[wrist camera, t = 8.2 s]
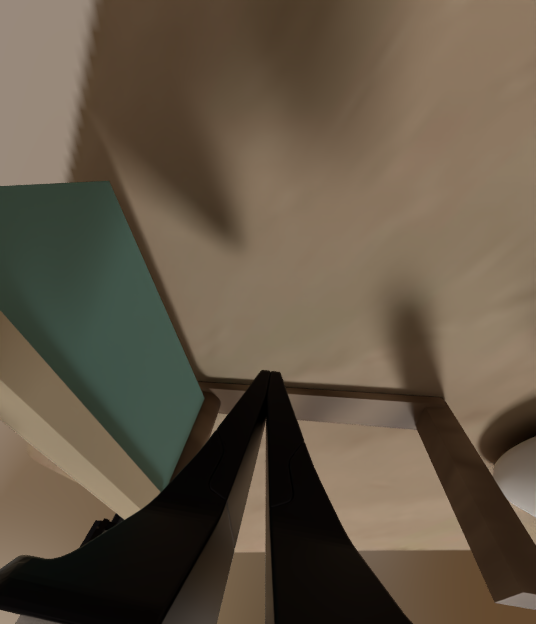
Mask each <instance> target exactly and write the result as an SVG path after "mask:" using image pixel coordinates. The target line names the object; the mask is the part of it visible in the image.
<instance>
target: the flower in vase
mask: <svg viewBox="0 0 536 624" xmlns="http://www.w3.org/2000/svg"><path fill="white" fill-rule="evenodd" d="M493 478H494V480H495V481H496V483H497V484H498V486H499V487H500V489H501V491H502V492H503V494H504V495H505V497H506V498H507V499H508V500H509V501H510V502H511V503H512V504H514V505H515V506H517V507H519V508H520V509H522V510H524V511H526V512H527V513H529V514H531V515H532V516H534V517H536V436H535V437H533V438H530V439H528V440H526V441H524V442H521V443H520V444H518V445H516V446H514V447H513V448H511V449H509V450H508V451H507V452H505V453H504V454H503V455H502V456H501V457H500V458H499V459H498V460H497V462H496V463H495V465H494V468H493Z"/></svg>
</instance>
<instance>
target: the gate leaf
mask: <svg viewBox="0 0 536 624" xmlns="http://www.w3.org/2000/svg"><path fill="white" fill-rule="evenodd" d="M204 399H205V398H204V396H203V393H202V391H201V389H200V387H199V384H198V382H197V380H196V378H195V375H194V373H193V371H192V368H191V366H190V364H189V362H188V359H187V357H186V355H185V353H184V350H183V348H182V346H181V343H180V341H179V339H178V337H177V334H176V332H175V330H174V328H173V325H172V323H171V321H170V318H169V316H168V314H167V312H166V309H165V307H164V305H163V303H162V300H161V298H160V296H159V293H158V291H157V289H156V287H155V284H154V282H153V280H152V278H151V275H150V273H149V271H148V269H147V266H146V264H145V262H144V259H143V257H142V255H141V253H140V250H139V248H138V246H137V244H136V241H135V239H134V237H133V234H132V232H131V230H130V228H129V225H128V223H127V221H126V219H125V216H124V214H123V212H122V209H121V207H120V205H119V203H118V200H117V198H116V196H115V194H114V191H113V189H112V187H111V184H110V182H109V181H96V182H75V183H55V184H35V185H16V186H0V420H1V421H2V422H4V423H5V424H6V425H7V426H8V427H9V428H11V429H12V430H13V431H14V432H16V433H17V434H18V435H20V436H21V437H22V438H23V439H24V440H26V441H27V442H28V443H29V444H31V445H32V446H33V447H34V448H36V449H37V450H38V451H39V452H41V453H42V454H43V455H44V456H46V457H47V458H48V459H49V460H51V461H52V462H53V463H54V464H56V465H57V466H58V467H59V468H61V469H62V470H63V471H64V472H66V473H67V474H68V475H69V476H71V477H72V478H73V479H74V480H76V481H77V482H78V483H79V484H81V485H82V486H83V487H84V488H86V489H87V490H88V491H89V492H91V493H92V494H93V495H94V496H96V497H97V498H98V499H99V500H101V501H102V502H103V503H104V504H106V505H107V506H108V507H109V508H111V509H112V510H113V511H114V512H116V513H117V514H118V515H119V516H121V517H122V518H123V519H124V520H125V519H126V518H128V517H130V516H131V515H133V514H134V513H136V512H138V511H139V510H141V509H142V508H143V507H145V506H146V505H147V504H149V503H150V502H151V501H152V500H153V499H154V498H155V497H157V496H158V495H159V494H160V492H161V491H162V490H163V489H164V488H165V487H166V486H167V485H168V484H169V481H170V479H171V477H172V474H173V472H174V469H175V467H176V465H177V462H178V460H179V458H180V455H181V453H182V451H183V448H184V446H185V444H186V441H187V439H188V437H189V434H190V432H191V429H192V427H193V425H194V422H195V420H196V418H197V415H198V413H199V411H200V408H201V406H202V404H203V401H204Z"/></svg>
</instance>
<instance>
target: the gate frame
mask: <svg viewBox="0 0 536 624" xmlns="http://www.w3.org/2000/svg"><path fill="white" fill-rule="evenodd" d="M198 384H199V387H200V389H201V391H202V393H203V396H204V398H205V399H204V401H203V404H202V406H201V408H200V411H199V413H198V415H197V418H196V420H195V422H194V425H193V427H192V429H191V432H190V434H189V437H188V439H187V441H186V444H185V446H184V448H183V451H182V453H181V455H180V458H179V460H178V462H177V465H176V467H175V469H174V472H173V474H172V477H171V479H170V481H169V483H170V482H171V481H172V480H173V479H174V478H175V477H176V476H177V475H178V473H179V472H180V471H181V470H182V469H183V468H184V467H185V466H186V465H187V464H188V463H189V462H190V461H191V460H192V458H193V457H194V456H195V455H196V454H197V453H198V452H199V451H200V450H201V448H202V447H203V446H204V445H205V443H206V442H207V441H208V440H209V438H210V435H211V432H212V429H213V426H214V423H215V420H216V417H217V414H218V413H222V414H229V412H230V411H231V410H232V408H233V407H234V406H235V404H236V403H237V402H238V400H239V399H240V398H241V396H242V395H243V394H244V393H245V391H246V390H247V389H248V387H249V386H250V385H242V384H226V383H211V382H198ZM286 390H287V393H288V396H289V399H290V401H291V404H292V407H293V410H294V413H295V416H296V419H297V420H306V421H318V422H330V423H342V424H354V425H366V426H378V427H389V428H401V429H413V430H418V433H419V435H420V437H421V439H422V442H423V444H424V446H425V448H426V451H427V453H428V455H429V457H430V459H431V462H432V464H433V466H434V468H435V471H436V473H437V475H438V477H439V480H440V482H441V484H442V486H443V488H444V491H445V493H446V495H447V497H448V500H449V502H450V504H451V506H452V509H453V511H454V513H455V515H456V517H457V520H458V522H459V524H460V526H461V529H462V531H463V533H464V535H465V538H466V540H467V542H468V544H469V546H470V549H471V551H472V553H473V555H474V558H475V560H476V562H477V564H478V566H479V569H480V571H481V573H482V575H483V578H484V580H485V582H486V584H487V587H488V589H489V591H490V593H491V595H492V598H493V600H494V602H495V603H499V604H505V605H511V606H517V607H523V608H529V609H535V610H536V545H535V543H534V542H533V540H532V539H531V537H530V535H529V534H528V532H527V531H526V529H525V527H524V526H523V524H522V523H521V521H520V519H519V518H518V516H517V515H516V513H515V511H514V510H513V508H512V507H511V505H510V503H509V502H508V500H507V499H506V497H505V495H504V494H503V492H502V491H501V489H500V487H499V486H498V484H497V483H496V481H495V480H494V478H493V476H492V475H491V473H490V472H489V470H488V468H487V467H486V465H485V464H484V462H483V460H482V459H481V457H480V456H479V454H478V452H477V451H476V449H475V448H474V446H473V444H472V443H471V441H470V440H469V438H468V436H467V435H466V433H465V432H464V430H463V428H462V427H461V425H460V424H459V422H458V420H457V419H456V417H455V416H454V414H453V413H452V411H451V409H450V408H449V406H448V405H447V403H446V401H443V399H442V398H441V397H427V396H411V395H396V394H380V393H365V392H349V391H334V390H319V389H303V388H288V387H286Z"/></svg>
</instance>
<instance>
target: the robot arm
mask: <svg viewBox="0 0 536 624" xmlns="http://www.w3.org/2000/svg"><path fill="white" fill-rule="evenodd" d="M265 422H266V563H265V566H266V567H265V583H266V584H265V592H266V593H265V624H413V623H412V622H411V621H410V620H409V619H408V618H407V617H406V615H405V614H404V613H403V611H402V610H401V609H400V607H399V606H398V605H397V603H396V602H395V601H394V599H393V598H392V597H391V595H390V594H389V593H388V591H387V590H386V589H385V587H384V586H383V585H382V583H381V582H380V581H379V579H378V578H377V577H376V575H375V574H374V573H373V571H372V570H371V568H370V567H369V566H368V564H367V563H366V562H365V560H364V559H363V558H362V556H361V555H360V554H359V552H358V551H357V550H356V548H355V547H354V545H353V544H352V542H351V541H350V539H349V537H348V536H347V534H346V532H345V530H344V528H343V526H342V524H341V522H340V520H339V518H338V516H337V514H336V512H335V510H334V508H333V506H332V504H331V502H330V500H329V498H328V496H327V494H326V492H325V489H324V487H323V485H322V483H321V481H320V479H319V477H318V474H317V472H316V470H315V468H314V465H313V463H312V460H311V458H310V455H309V452H308V450H307V447H306V444H305V442H304V438H303V436H302V433H301V430H300V427H299V424H298V421H297V419H296V416H295V413H294V410H293V407H292V404H291V401H290V399H289V396H288V393H287V390H286V387H285V384H284V381H283V379H282V376H281V373H280V372H276V371H271V372H270V371H267V370H262V371H260V373H259V374H258V375H257V377H256V378H255V379H254V381H253V382H252V383H251V385H250V386H249V387H248V389H247V390H246V391H245V393H244V394H243V395H242V396H241V398H240V399H239V400H238V402H237V403H236V404H235V406H234V407H233V408H232V410H231V411H230V412H229V414H228V415H227V416H226V418H225V419H224V420H223V421H222V423H221V424H220V425H219V427H218V428H217V430H216V431H215V432H214V433H213V434H212V436H211V437H210V438H209V440H208V441H207V442H206V443H205V445H204V446H203V447H202V448H201V450H200V451H199V452H198V453H197V454H196V455H195V456H194V457H193V458H192V460H191V461H190V462H189V463H188V464H187V465H186V466H185V467H184V468H183V469H182V470H181V471H180V472H179V473H178V475H177V476H176V477H175V478H174V479H173V480H172V481H171V482H170V483H169V484H168V485H167V486H166V487H165V488H164V489H163V490H162V491H161V492H160V494H159V495H158V496H157V497H155V498H154V499H153V500H152V501H151V502H150V503H149V504H147V505H146V506H145V507H143V508H142V509H141V510H139V511H138V512H136V513H134V514H133V515H131V516H130V517H128V518H126V519H125V520H124V519H123V518H122V517H121V516H119V515H118V514H117V513H116V514H115V516H114V518H113V520H112V521H111V522H110V521H109V520H108V519H104V520H103V521H97V520H96V521H95V522H94V524H93V526H92V527H91V529H90V531H89V533H88V534H87V536H86V538H85V540H84V541H83V543H82V544H81V546H80V548H78V549H77V550H75V551H73V552H71V553H69V554H66V555H64V556H62V557H58V558H54V559H44V558H40V557H34V556H28V555H21V556H18V557H17V558H15V559H14V560H13V561H11V562H10V563H8V564H7V565H6V566H4V567H3V568H1V569H0V610H3V611H7V612H12V613H16V614H20V617H19V618H18V620H17V622H16V623H15V624H217V620H218V616H219V611H220V607H221V603H222V599H223V595H224V591H225V586H226V583H227V579H228V574H229V571H230V566H231V562H232V558H233V554H234V548H235V546H236V542H237V538H238V533H239V529H240V525H241V521H242V517H243V513H244V509H245V505H246V501H247V497H248V492H249V488H250V484H251V480H252V476H253V472H254V468H255V464H256V460H257V455H258V451H259V447H260V443H261V439H262V435H263V431H264V427H265Z"/></svg>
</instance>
